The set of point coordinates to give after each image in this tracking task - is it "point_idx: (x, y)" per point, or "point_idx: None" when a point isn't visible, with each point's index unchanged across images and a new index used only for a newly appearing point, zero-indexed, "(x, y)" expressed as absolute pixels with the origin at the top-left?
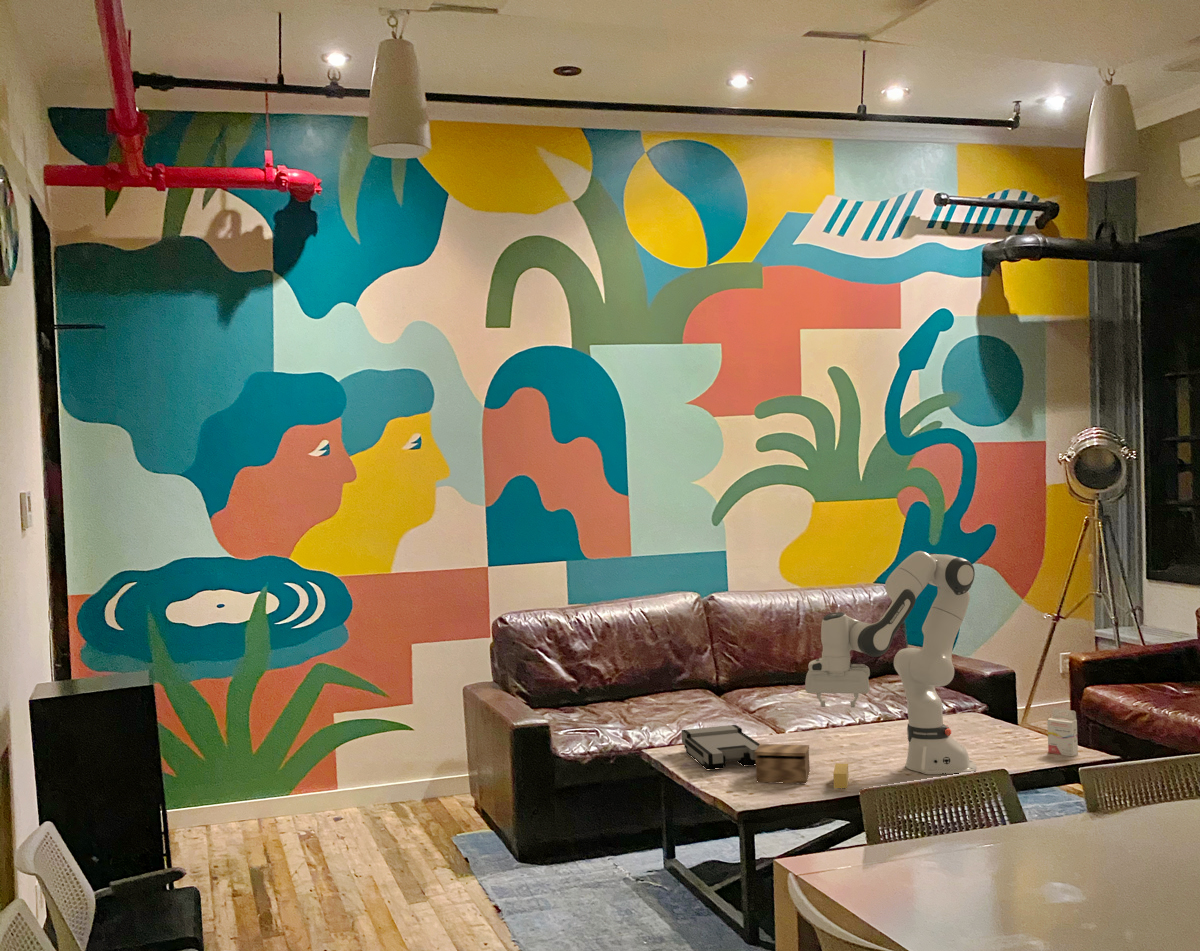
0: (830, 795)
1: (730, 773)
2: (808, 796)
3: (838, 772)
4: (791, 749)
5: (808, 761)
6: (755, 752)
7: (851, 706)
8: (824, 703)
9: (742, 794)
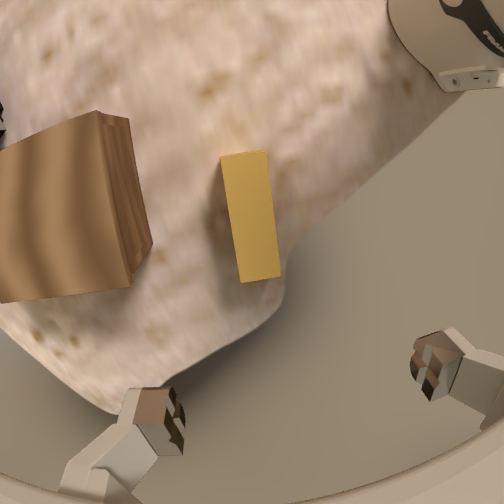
0: (242, 318)
1: None
2: (193, 337)
3: (254, 268)
4: (61, 228)
5: (118, 144)
6: (3, 302)
7: (418, 373)
8: (178, 441)
9: (65, 348)
